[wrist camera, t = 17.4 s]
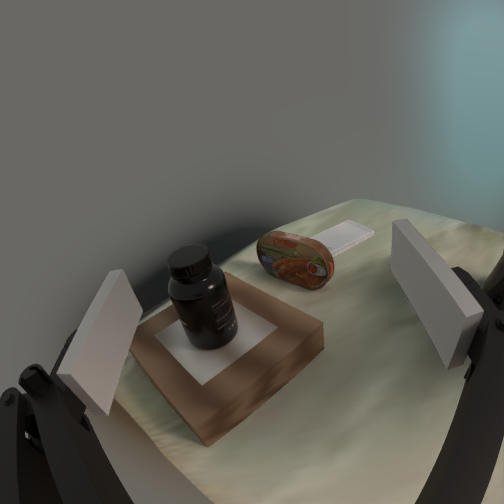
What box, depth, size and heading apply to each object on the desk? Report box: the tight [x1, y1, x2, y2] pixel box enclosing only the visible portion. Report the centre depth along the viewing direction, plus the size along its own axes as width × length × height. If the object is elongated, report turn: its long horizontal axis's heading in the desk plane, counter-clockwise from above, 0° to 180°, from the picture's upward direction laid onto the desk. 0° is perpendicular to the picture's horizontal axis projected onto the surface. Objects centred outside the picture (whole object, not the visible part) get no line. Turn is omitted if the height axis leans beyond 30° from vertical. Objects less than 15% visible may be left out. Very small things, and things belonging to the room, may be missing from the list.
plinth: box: [129, 272, 324, 447], centre depth 41 cm, size 20×20×5 cm
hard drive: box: [309, 220, 374, 257], centre depth 64 cm, size 2×8×12 cm
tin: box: [257, 231, 334, 290], centre depth 53 cm, size 15×3×8 cm, turn 47°
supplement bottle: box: [167, 244, 238, 350], centre depth 37 cm, size 7×7×12 cm
